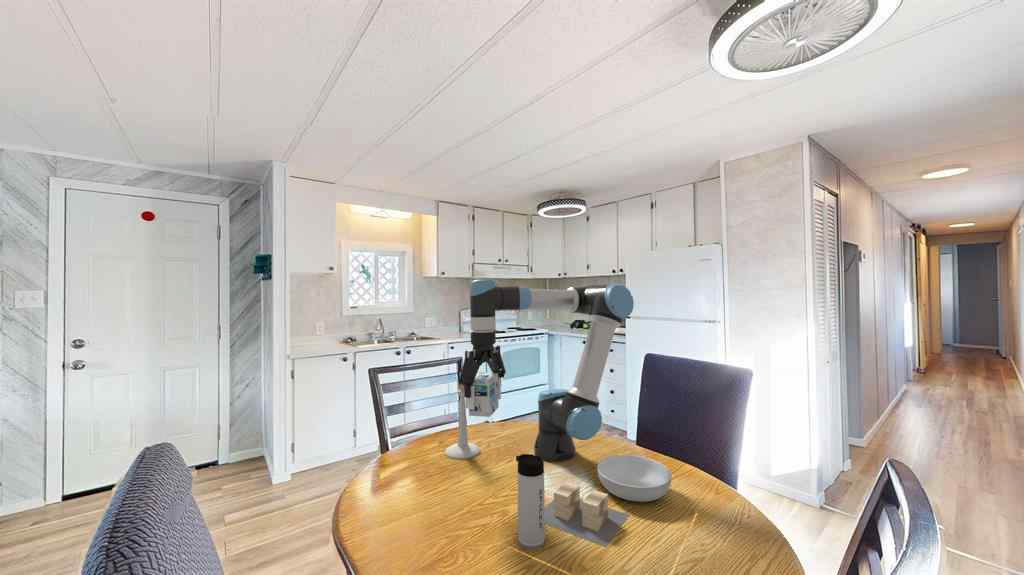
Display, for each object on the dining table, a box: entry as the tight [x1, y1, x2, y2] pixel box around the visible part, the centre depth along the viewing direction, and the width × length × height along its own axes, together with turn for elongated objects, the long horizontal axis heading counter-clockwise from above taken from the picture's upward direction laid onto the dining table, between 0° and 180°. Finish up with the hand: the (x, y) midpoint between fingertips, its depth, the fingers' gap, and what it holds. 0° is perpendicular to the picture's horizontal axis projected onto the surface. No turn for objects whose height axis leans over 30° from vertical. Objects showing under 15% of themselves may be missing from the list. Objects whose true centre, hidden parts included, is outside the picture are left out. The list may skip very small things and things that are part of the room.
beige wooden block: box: [553, 481, 581, 521], centre depth 103 cm, size 7×4×6 cm, turn 145°
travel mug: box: [515, 453, 546, 551], centre depth 91 cm, size 6×7×20 cm
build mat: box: [544, 498, 630, 548], centre depth 101 cm, size 16×20×1 cm
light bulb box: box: [468, 371, 500, 418], centre depth 117 cm, size 11×7×11 cm, turn 168°
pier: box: [582, 489, 609, 531], centre depth 99 cm, size 7×4×6 cm, turn 145°
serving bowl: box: [596, 454, 673, 503], centre depth 114 cm, size 21×21×7 cm
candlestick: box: [445, 371, 481, 460], centre depth 145 cm, size 13×13×30 cm
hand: (483, 403), depth 117 cm, fingers closed on light bulb box, 12 cm apart
